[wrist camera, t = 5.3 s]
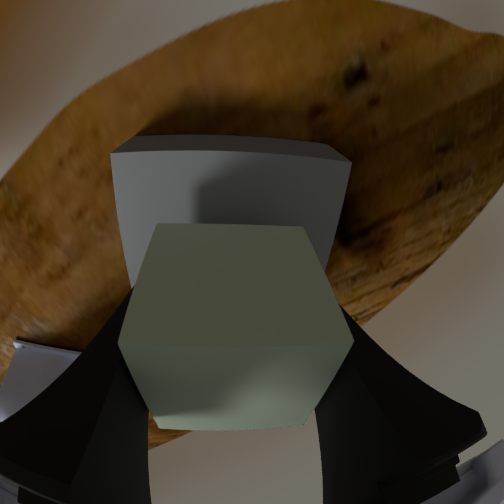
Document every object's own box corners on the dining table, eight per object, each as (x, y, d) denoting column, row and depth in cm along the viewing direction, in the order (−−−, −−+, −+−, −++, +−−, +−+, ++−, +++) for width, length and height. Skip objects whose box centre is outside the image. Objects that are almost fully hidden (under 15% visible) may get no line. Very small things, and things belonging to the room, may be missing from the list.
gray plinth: (150, 287, 16) (140, 324, 14) (133, 136, 11) (110, 153, 9) (297, 289, 18) (308, 325, 15) (326, 144, 13) (352, 162, 10)
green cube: (170, 323, 12) (159, 427, 8) (157, 223, 9) (117, 342, 5) (281, 323, 13) (303, 425, 9) (302, 226, 10) (354, 340, 6)
